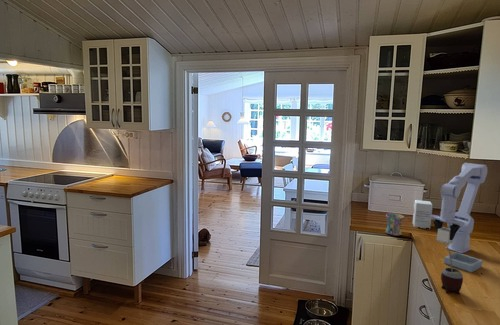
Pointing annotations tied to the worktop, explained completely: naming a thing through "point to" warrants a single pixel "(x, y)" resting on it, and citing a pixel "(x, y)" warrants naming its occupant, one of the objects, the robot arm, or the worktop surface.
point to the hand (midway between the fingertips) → (445, 237)
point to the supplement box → (422, 214)
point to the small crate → (444, 235)
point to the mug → (394, 224)
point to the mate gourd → (451, 278)
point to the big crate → (463, 262)
